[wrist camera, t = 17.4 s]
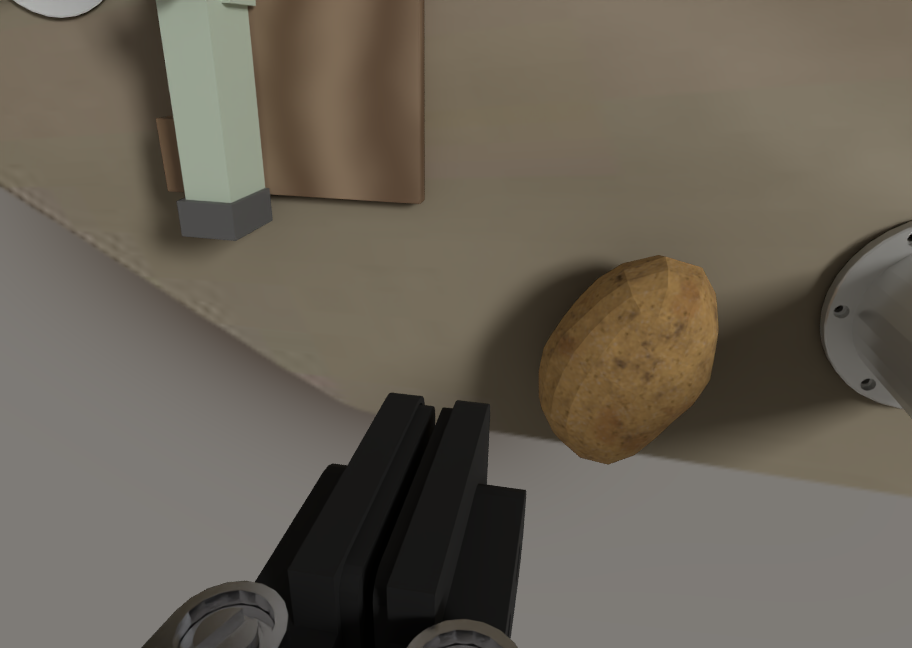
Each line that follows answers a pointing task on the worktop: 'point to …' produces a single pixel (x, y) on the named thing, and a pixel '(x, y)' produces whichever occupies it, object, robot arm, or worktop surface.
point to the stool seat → (334, 99)
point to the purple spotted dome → (58, 7)
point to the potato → (629, 357)
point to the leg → (215, 117)
